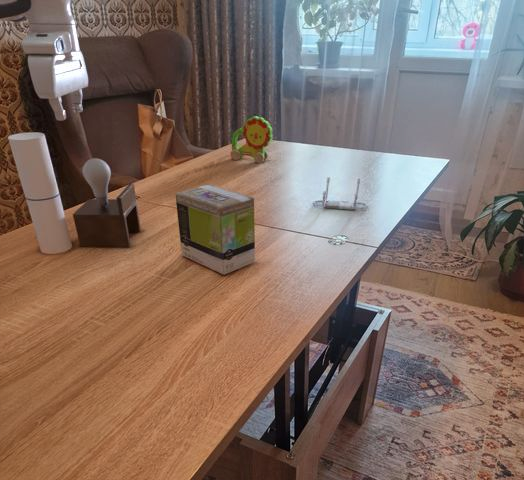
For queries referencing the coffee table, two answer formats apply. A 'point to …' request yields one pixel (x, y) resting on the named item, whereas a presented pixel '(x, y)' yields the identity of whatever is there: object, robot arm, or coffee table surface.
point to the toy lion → (253, 139)
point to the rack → (108, 221)
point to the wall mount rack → (340, 204)
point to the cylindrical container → (41, 191)
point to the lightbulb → (98, 179)
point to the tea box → (216, 227)
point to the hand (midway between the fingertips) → (70, 116)
